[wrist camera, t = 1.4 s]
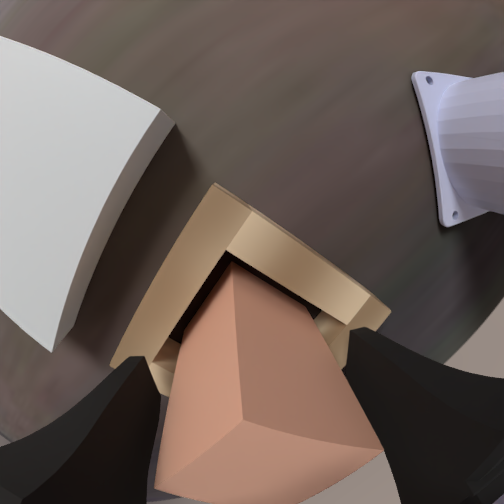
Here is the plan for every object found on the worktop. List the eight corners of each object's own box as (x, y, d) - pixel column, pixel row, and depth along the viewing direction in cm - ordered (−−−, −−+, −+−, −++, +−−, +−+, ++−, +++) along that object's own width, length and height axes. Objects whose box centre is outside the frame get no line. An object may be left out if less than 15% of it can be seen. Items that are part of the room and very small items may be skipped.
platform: (175, 123, 10) (161, 109, 7) (73, 326, 11) (51, 352, 9) (19, 46, 7) (-5, 34, 4) (-45, 213, 9) (-69, 221, 6)
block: (305, 306, 12) (384, 450, 5) (255, 365, 13) (280, 511, 5) (231, 261, 11) (242, 419, 4) (184, 329, 12) (153, 488, 4)
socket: (369, 290, 12) (391, 311, 10) (265, 405, 14) (270, 434, 12) (215, 182, 10) (212, 184, 8) (123, 338, 12) (109, 365, 10)
